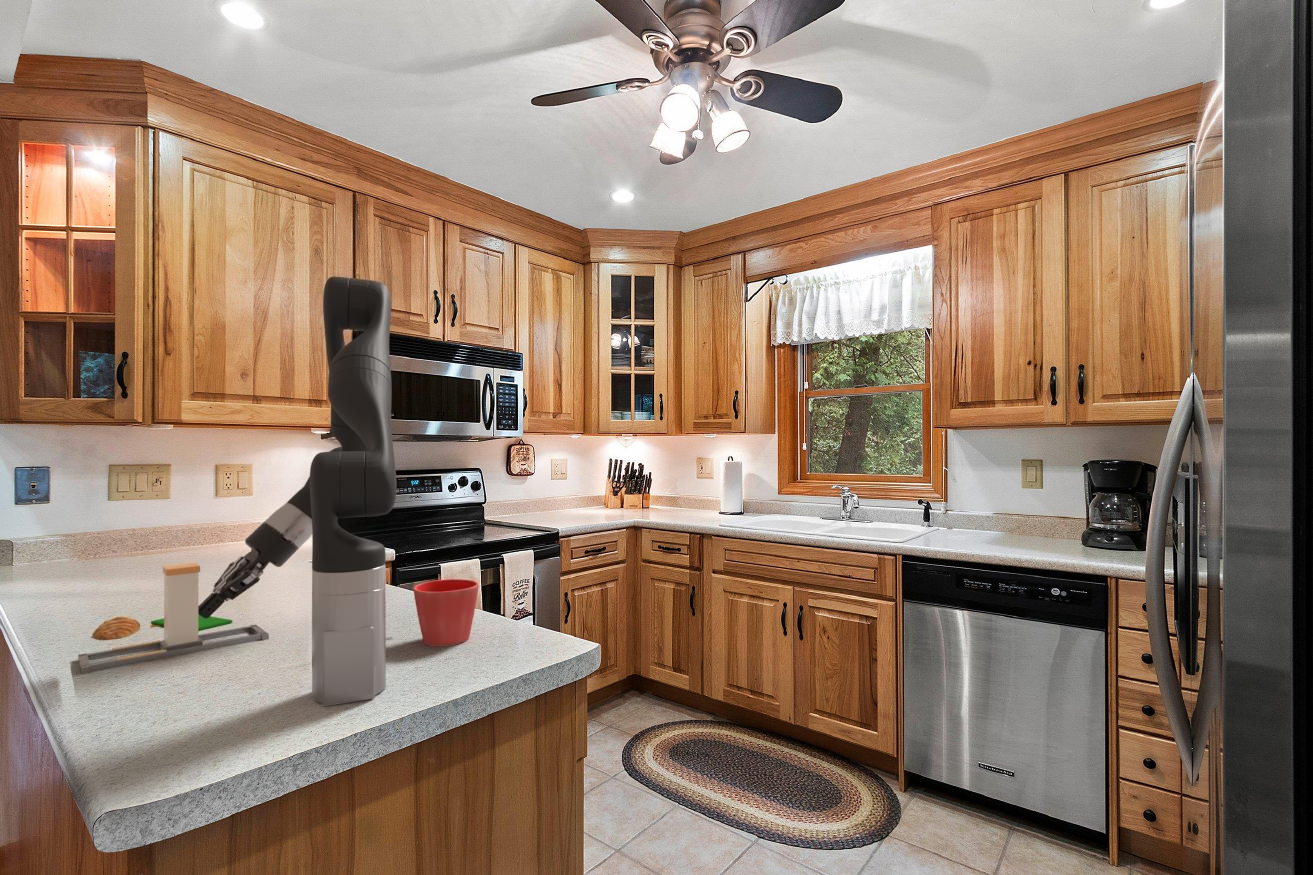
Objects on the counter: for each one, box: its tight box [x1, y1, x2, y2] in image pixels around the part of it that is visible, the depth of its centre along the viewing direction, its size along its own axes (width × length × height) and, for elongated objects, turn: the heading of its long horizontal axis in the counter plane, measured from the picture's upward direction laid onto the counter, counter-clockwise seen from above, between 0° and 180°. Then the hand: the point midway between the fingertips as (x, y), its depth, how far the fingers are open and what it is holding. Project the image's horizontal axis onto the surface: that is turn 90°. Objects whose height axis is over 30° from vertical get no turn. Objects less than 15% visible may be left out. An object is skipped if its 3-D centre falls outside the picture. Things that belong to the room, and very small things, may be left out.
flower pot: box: [413, 578, 480, 647], centre depth 114 cm, size 11×11×10 cm
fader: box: [159, 562, 204, 650], centre depth 106 cm, size 5×5×13 cm
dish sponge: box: [150, 614, 233, 632], centre depth 121 cm, size 7×14×2 cm, turn 64°
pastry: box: [91, 616, 142, 641], centre depth 115 cm, size 9×7×4 cm
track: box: [77, 624, 270, 675], centre depth 105 cm, size 24×9×2 cm, turn 134°
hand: (200, 615), depth 107 cm, fingers closed
